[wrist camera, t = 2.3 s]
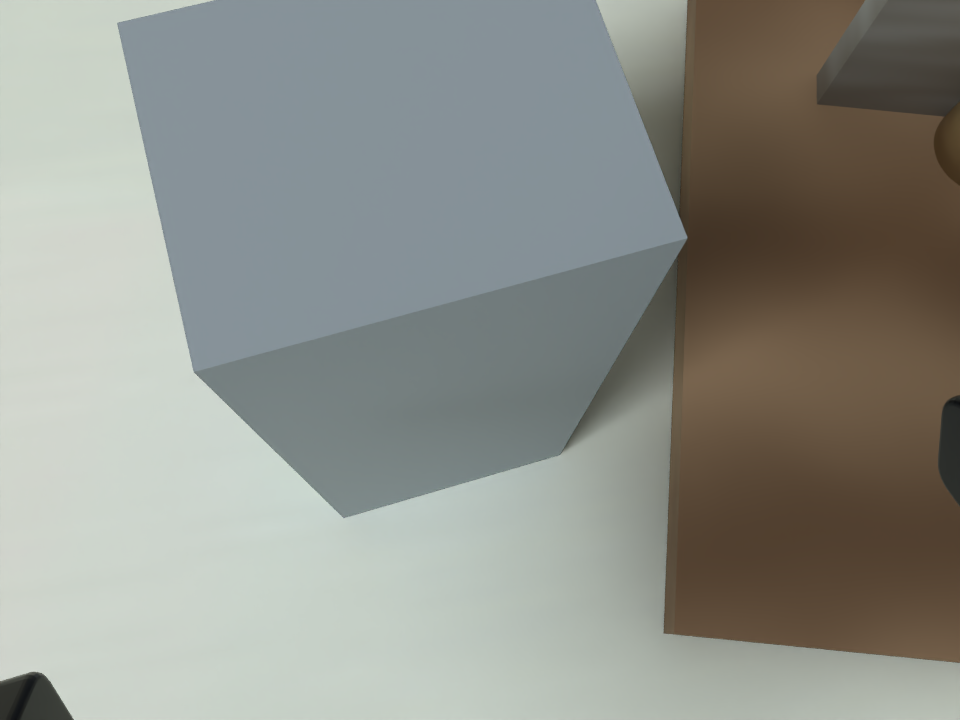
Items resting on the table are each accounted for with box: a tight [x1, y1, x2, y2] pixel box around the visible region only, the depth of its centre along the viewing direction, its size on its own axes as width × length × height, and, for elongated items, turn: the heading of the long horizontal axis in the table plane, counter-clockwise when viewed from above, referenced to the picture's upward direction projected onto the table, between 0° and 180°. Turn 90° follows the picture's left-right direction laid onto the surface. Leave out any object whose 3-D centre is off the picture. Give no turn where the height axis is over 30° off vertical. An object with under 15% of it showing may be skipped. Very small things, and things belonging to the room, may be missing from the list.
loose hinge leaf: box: [117, 0, 687, 518], centre depth 15 cm, size 6×5×12 cm
